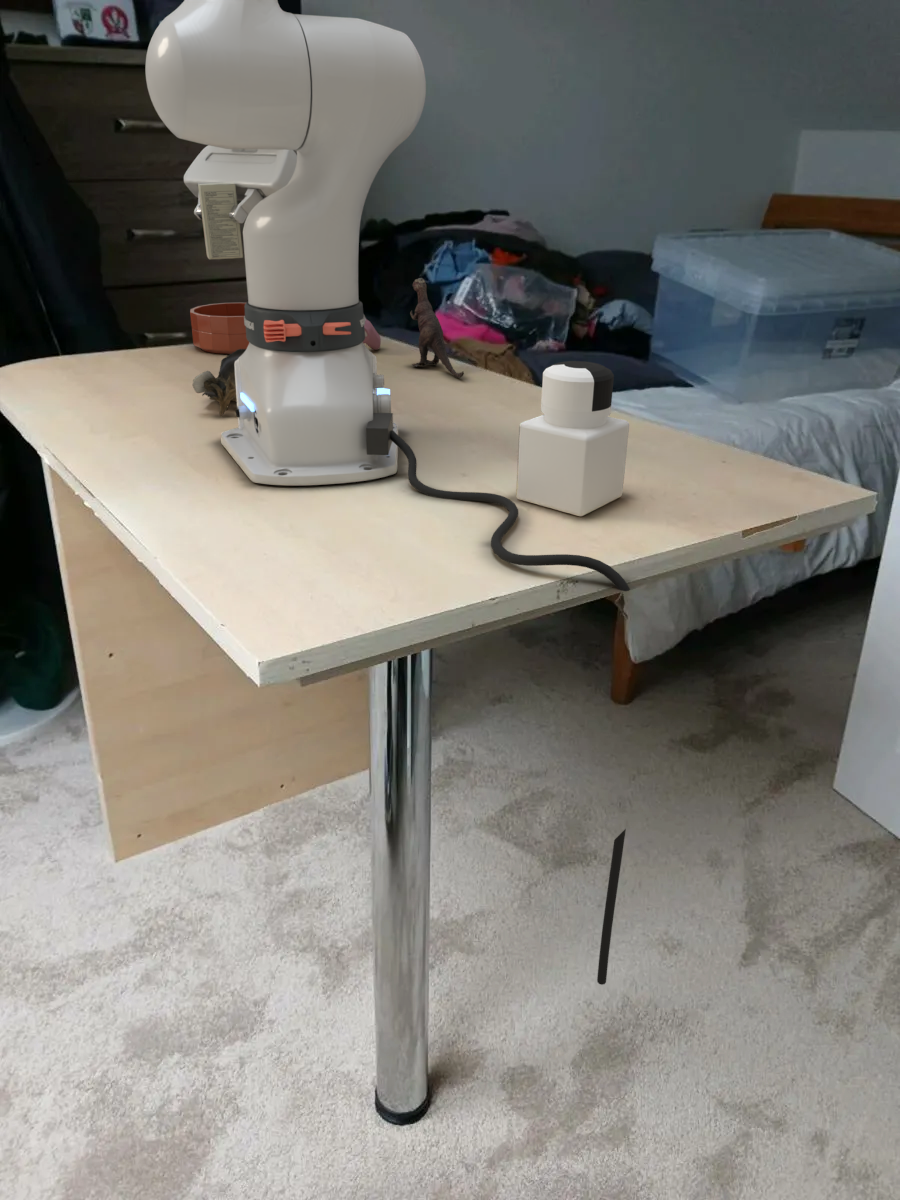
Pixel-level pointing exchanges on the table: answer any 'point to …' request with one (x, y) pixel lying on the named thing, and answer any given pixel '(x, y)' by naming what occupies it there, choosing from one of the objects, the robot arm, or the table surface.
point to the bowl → (219, 327)
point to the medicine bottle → (573, 442)
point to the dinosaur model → (430, 331)
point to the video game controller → (371, 336)
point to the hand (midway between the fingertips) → (217, 218)
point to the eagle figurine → (220, 382)
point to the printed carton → (220, 220)
